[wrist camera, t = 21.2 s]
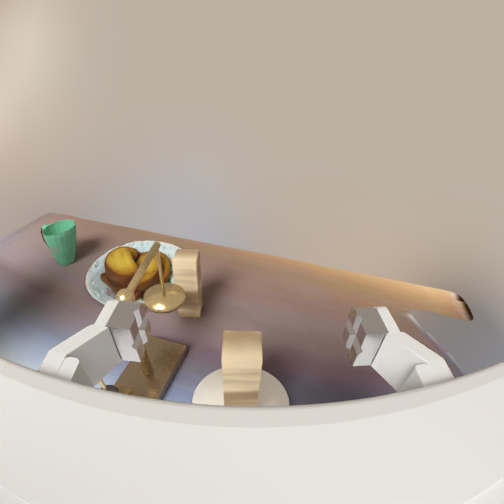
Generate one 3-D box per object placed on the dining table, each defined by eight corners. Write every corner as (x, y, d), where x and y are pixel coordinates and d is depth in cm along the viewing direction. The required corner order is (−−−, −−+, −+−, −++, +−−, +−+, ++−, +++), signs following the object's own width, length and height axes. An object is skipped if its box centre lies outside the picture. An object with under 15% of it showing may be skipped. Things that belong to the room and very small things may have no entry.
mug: (89, 256, 67) (82, 221, 62) (65, 274, 59) (54, 238, 54) (60, 246, 71) (53, 216, 66) (37, 262, 62) (28, 230, 58)
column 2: (255, 414, 32) (262, 359, 26) (224, 414, 32) (221, 358, 26) (255, 390, 36) (260, 331, 30) (226, 390, 36) (223, 330, 30)
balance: (136, 446, 27) (77, 359, 18) (94, 425, 28) (30, 332, 19) (198, 332, 47) (189, 235, 38) (162, 323, 49) (147, 228, 40)
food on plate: (212, 266, 67) (211, 241, 64) (145, 331, 47) (138, 303, 44) (135, 243, 75) (132, 221, 72) (68, 288, 55) (60, 263, 52)
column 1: (200, 317, 51) (195, 261, 45) (179, 316, 51) (171, 260, 45) (202, 303, 54) (199, 249, 48) (182, 302, 54) (176, 249, 48)
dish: (233, 465, 27) (233, 461, 26) (176, 397, 35) (174, 392, 34) (306, 410, 34) (308, 405, 34) (246, 358, 43) (246, 352, 42)
